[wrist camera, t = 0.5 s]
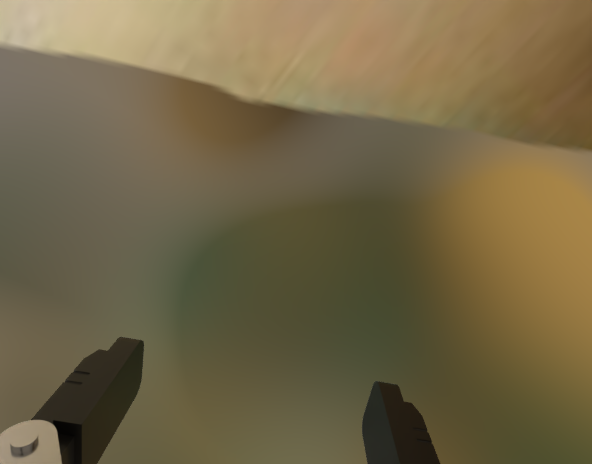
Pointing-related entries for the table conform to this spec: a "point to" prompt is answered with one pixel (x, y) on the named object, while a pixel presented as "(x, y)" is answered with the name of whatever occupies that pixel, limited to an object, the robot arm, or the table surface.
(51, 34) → the table surface
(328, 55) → the table surface
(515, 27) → the table surface
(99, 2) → the table surface
